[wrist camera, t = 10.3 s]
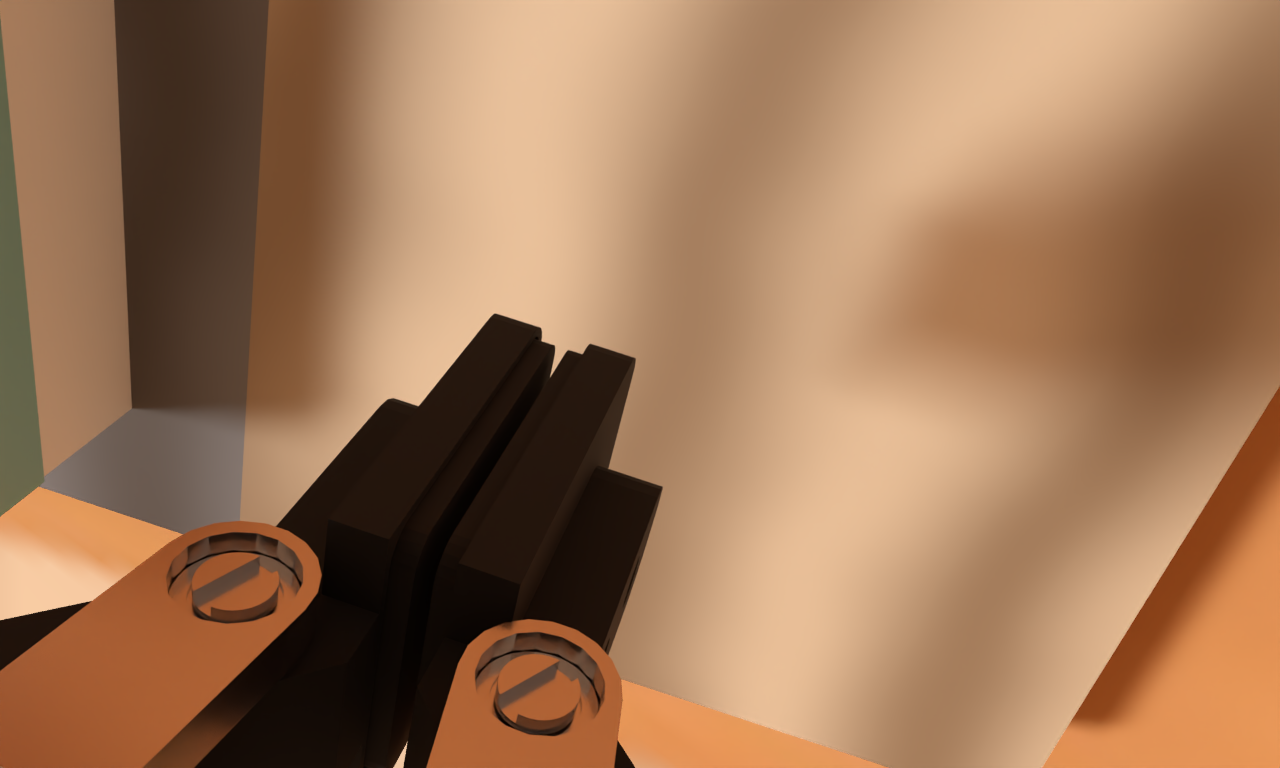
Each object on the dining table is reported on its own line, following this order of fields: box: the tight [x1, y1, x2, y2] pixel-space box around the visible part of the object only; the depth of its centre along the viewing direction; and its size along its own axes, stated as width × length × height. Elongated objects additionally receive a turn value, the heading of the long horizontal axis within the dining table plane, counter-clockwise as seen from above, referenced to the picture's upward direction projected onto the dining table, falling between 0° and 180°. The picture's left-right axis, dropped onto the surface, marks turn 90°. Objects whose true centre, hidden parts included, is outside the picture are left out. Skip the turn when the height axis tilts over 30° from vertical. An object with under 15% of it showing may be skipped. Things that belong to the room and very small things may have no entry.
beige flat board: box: [39, 0, 1280, 768], centre depth 19 cm, size 32×15×2 cm, turn 77°
